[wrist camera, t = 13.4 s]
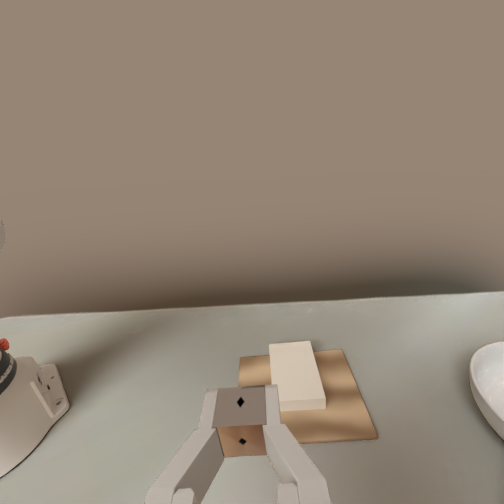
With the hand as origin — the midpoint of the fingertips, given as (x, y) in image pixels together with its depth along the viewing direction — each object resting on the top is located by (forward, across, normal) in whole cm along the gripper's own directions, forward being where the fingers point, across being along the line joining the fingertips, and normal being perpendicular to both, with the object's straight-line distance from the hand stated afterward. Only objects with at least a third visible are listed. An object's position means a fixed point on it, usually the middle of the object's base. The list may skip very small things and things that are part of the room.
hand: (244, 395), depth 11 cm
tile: (+19, -4, +28) cm, 34 cm away
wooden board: (+23, -4, +30) cm, 38 cm away
